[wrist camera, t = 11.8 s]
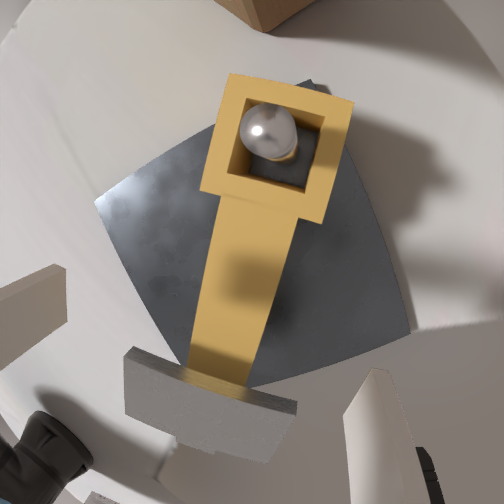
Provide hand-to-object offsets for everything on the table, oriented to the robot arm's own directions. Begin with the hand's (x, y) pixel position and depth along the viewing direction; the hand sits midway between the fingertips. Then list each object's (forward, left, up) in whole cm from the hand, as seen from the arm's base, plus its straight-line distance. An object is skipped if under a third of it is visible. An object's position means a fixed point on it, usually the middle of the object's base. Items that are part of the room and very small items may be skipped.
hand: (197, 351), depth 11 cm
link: (+2, +2, -12) cm, 12 cm away
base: (0, 0, -13) cm, 13 cm away
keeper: (-5, -7, -13) cm, 15 cm away
